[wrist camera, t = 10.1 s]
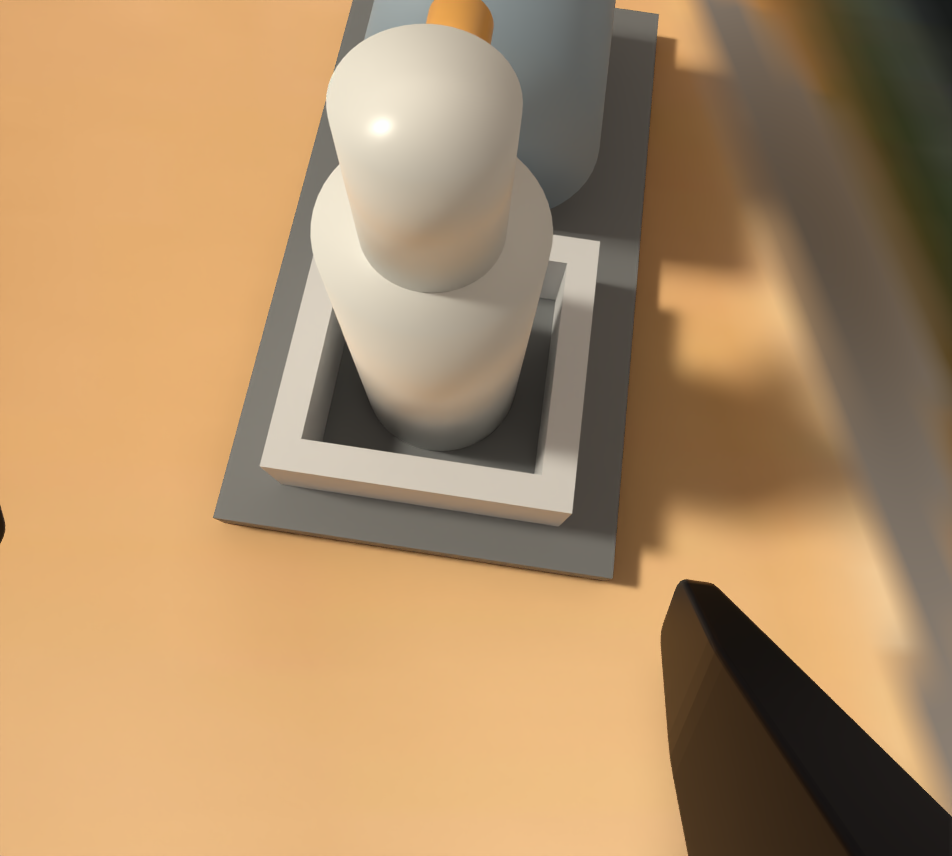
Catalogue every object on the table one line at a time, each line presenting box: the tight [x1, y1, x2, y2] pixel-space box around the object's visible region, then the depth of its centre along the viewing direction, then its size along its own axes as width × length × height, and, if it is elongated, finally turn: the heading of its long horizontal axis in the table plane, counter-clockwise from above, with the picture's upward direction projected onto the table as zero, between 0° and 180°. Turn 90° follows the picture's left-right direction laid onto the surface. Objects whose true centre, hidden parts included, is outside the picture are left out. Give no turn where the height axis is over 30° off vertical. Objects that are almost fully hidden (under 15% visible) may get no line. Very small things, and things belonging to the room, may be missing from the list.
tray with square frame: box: [213, 0, 659, 581], centre depth 20 cm, size 24×13×10 cm, turn 172°
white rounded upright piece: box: [310, 0, 553, 451], centre depth 17 cm, size 7×5×12 cm
